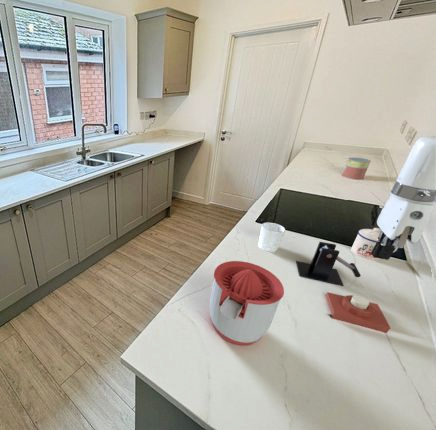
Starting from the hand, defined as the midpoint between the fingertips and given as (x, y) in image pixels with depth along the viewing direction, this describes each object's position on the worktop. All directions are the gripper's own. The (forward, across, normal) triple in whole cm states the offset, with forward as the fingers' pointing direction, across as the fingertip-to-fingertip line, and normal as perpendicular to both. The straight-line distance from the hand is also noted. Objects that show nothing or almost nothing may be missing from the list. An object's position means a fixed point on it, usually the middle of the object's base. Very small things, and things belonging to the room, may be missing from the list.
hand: (379, 256), depth 69 cm
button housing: (+19, -2, 0) cm, 19 cm away
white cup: (+19, +25, +21) cm, 38 cm away
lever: (+12, +14, +3) cm, 19 cm away
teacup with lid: (+19, +35, -14) cm, 42 cm away
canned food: (+18, +146, -34) cm, 151 cm away
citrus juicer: (+19, -22, +31) cm, 43 cm away
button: (+15, -2, 0) cm, 15 cm away
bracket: (+19, +14, +6) cm, 24 cm away
